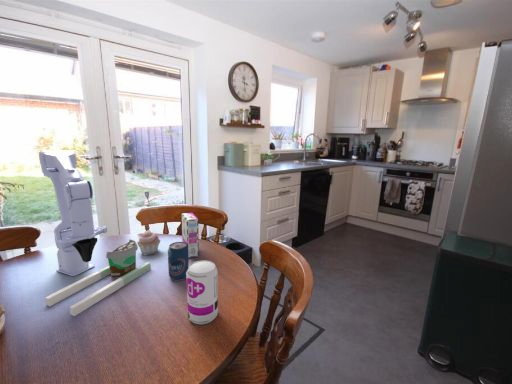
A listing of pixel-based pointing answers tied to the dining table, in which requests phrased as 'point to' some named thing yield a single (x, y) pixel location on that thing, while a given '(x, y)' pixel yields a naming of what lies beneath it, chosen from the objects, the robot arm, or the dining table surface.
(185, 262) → the soda can
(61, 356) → the dining table surface
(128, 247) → the food container
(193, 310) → the supplement can
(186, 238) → the candy bar box
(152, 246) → the cupcake
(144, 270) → the parallel rails
